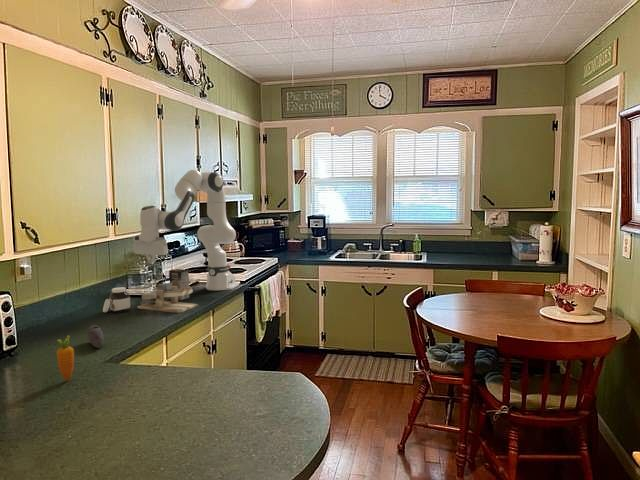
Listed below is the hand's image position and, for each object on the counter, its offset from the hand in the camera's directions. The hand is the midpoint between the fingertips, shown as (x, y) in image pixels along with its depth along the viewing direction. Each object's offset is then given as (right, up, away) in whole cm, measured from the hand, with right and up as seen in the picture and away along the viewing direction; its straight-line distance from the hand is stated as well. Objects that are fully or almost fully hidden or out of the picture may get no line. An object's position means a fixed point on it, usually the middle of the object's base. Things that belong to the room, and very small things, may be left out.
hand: (151, 263), depth 253 cm
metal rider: (+8, -15, -2) cm, 17 cm away
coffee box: (+9, -21, +19) cm, 30 cm away
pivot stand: (+9, -23, -1) cm, 25 cm away
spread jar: (-15, -25, -8) cm, 30 cm away
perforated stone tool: (-1, -30, -61) cm, 68 cm away
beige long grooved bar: (+9, -20, -2) cm, 22 cm away
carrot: (+6, -34, -96) cm, 102 cm away
